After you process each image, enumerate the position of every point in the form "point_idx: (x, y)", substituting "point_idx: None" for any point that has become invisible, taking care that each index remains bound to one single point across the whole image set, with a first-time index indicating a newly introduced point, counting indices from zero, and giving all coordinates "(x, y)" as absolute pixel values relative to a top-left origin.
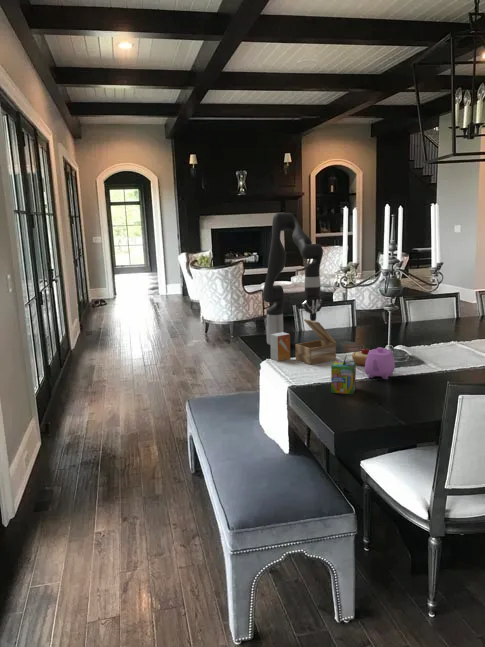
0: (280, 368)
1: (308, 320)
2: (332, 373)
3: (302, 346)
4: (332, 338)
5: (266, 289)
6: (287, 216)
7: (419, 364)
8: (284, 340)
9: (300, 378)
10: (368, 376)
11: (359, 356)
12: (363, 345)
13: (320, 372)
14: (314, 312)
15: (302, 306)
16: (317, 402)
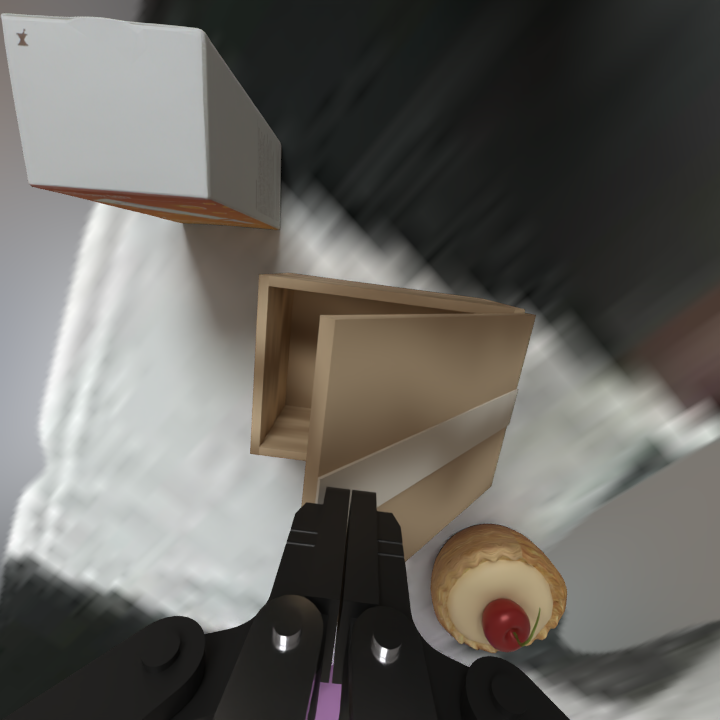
0: (114, 347)
1: (314, 443)
2: None
3: (254, 369)
4: (465, 506)
5: None
6: None
7: (610, 698)
8: (161, 206)
9: (105, 521)
10: (331, 669)
11: (439, 615)
12: (528, 641)
13: (230, 521)
14: (340, 706)
15: None
16: (12, 704)
